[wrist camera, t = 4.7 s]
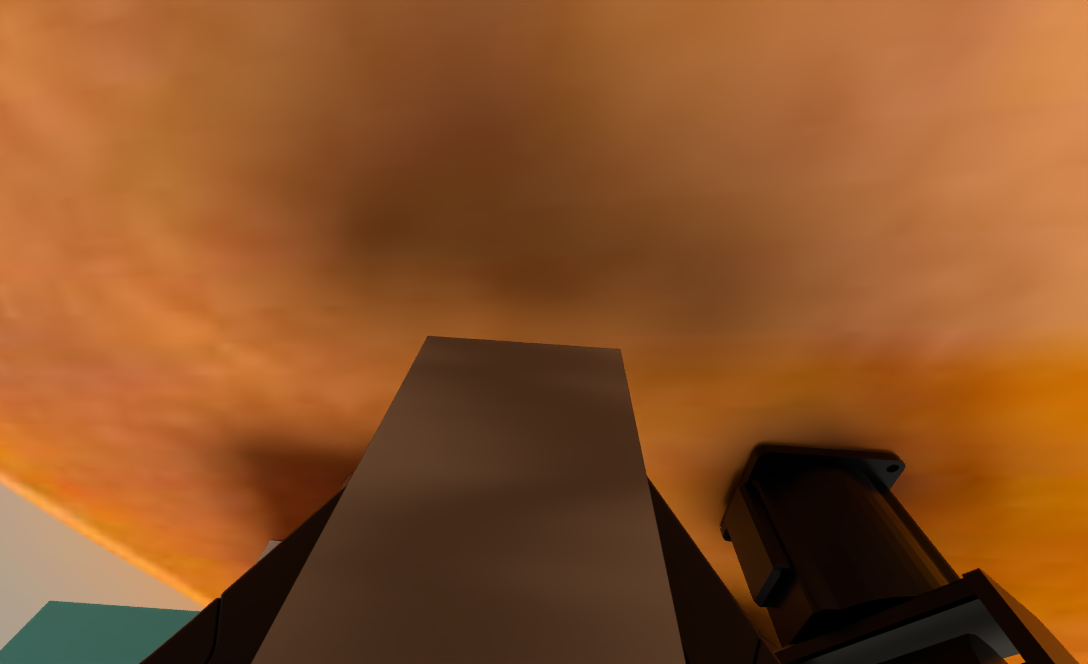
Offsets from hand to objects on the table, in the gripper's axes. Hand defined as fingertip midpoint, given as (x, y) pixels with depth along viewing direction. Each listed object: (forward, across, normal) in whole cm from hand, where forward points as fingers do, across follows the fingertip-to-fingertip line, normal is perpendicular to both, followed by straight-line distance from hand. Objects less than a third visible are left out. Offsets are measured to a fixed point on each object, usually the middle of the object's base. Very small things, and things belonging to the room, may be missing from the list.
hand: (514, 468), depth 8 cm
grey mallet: (+2, 0, +6) cm, 7 cm away
